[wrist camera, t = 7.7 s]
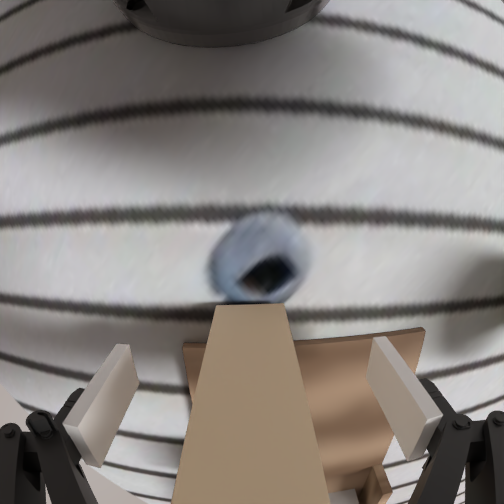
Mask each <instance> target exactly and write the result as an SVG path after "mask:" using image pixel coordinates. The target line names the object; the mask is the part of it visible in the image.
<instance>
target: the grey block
mask: <svg viewBox="0 0 504 504" xmlns="http://www.w3.org/2000/svg"><path fill="white" fill-rule="evenodd" d="M328 495H329V499H330V504H359V502H358V498H357V495H356V491H355V489H349V490H344V491H338V492H332V493H328Z"/></svg>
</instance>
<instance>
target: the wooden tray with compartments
mask: <svg viewBox="0 0 504 504" xmlns="http://www.w3.org/2000/svg"><path fill="white" fill-rule="evenodd" d="M425 332H426V331H425V330H424V329H423V328H422V327H420V328H413V329H407V330H399V331H392V332H384V333H376V334H367V335H358V336H349V337H338V338H326V339H313V340H298V341H293V343H294V347H295V351H296V355H297V359H298V363H299V368H300V372H301V376H302V380H303V384H304V389H305V393H306V397H307V401H308V406H309V410H310V414H311V418H312V423H313V427H314V432H315V436H316V440H317V445H318V449H319V454H320V458H321V463H322V467H323V472H324V476H325V481H326V485H327V490H328V493H332V492H338V491H344V490H349V489H355V491H356V495H357V498H358V502H359V504H386V502H387V500H388V499H389V497H390V496H391V494H392V493H393V491H392V489H391V486H390V483H389V481H388V478H387V476H386V473H385V471H384V468H383V466H382V462H383V460H384V457H385V455H386V453H387V450H388V448H389V446H390V443H391V441H392V438H393V436H394V432H393V430H392V428H391V426H390V424H389V422H388V420H387V418H386V416H385V414H384V412H383V410H382V408H381V406H380V404H379V402H378V400H377V399H376V397H375V395H374V393H373V391H372V389H371V387H370V385H369V383H368V381H367V379H366V374H367V369H368V364H369V358H370V353H371V347H372V341H373V338H374V337H382V336H386V337H387V338H388V340H389V341H390V342H391V344H392V345H393V346H394V348H395V349H396V350H397V352H398V353H399V354H400V356H401V357H402V358H403V360H404V361H405V362H406V364H407V365H408V366H409V368H410V369H411V370H412V372H413V373H414V375H415V371H416V368H417V364H418V360H419V357H420V353H421V349H422V345H423V341H424V336H425ZM206 345H207V343H184V344H183V347H182V349H183V356H184V362H185V367H186V373H187V379H188V384H189V389H190V395H191V400H192V405H193V400H194V396H195V392H196V387H197V383H198V379H199V375H200V370H201V366H202V362H203V358H204V353H205V349H206Z"/></svg>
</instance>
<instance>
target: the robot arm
mask: <svg viewBox="0 0 504 504" xmlns="http://www.w3.org/2000/svg"><path fill="white" fill-rule="evenodd" d="M501 1H502V2H503V3H504V0H501ZM113 2H114V4H115V5H116V6H117V7H118V9H119V10H120V11H121V12H122V13H123V14H124V16H125V17H126V18H127V19H128V20H129V21H130V22H131V23H132V24H133V25H134V26H135V27H137V28H138V29H140V30H141V31H143V32H144V33H146V34H148V35H150V36H153V37H155V38H158V39H160V40H163V41H167V42H170V43H175V44H180V45H186V46H195V47H226V46H237V45H244V44H249V43H255V42H259V41H263V40H267V39H270V38H273V37H276V36H279V35H282V34H284V33H287V32H289V31H291V30H294V29H296V28H298V27H299V26H301V25H303V24H305V23H306V22H308V21H309V20H311V19H312V18H313V17H315V16H316V15H317V14H318V13H319V12H320V11H321V10H322V9H323V8H324V7H325V6H326V4H327V3H328V2H329V0H113ZM366 379H367V381H368V383H369V385H370V387H371V389H372V391H373V393H374V395H375V397H376V399H377V400H378V402H379V404H380V406H381V408H382V410H383V412H384V414H385V416H386V418H387V420H388V422H389V424H390V426H391V428H392V430H393V432H394V435H395V437H396V439H397V441H398V443H399V445H400V447H401V449H402V451H403V453H404V455H405V457H406V459H407V461H410V460H414V459H417V458H420V457H422V456H423V454H424V452H425V451H426V449H427V450H428V452H429V454H430V455H429V457H428V458H427V460H426V462H425V464H424V465H423V467H422V468H423V471H422V474H421V476H420V478H419V481H418V483H417V485H416V487H415V490H414V492H413V494H412V496H411V498H410V500H409V502H408V504H454V501H455V498H456V495H457V492H458V489H459V485H460V482H461V478H462V475H463V471H464V467H465V504H504V412H502V411H493V412H491V413H490V414H489V415H488V417H487V419H486V420H480V421H472V420H471V419H470V418H469V417H468V416H466V415H463V414H456V412H455V411H454V410H453V408H452V407H451V406H450V404H449V403H448V402H447V400H446V399H445V398H444V396H442V394H441V392H440V391H439V390H438V388H437V387H436V386H435V384H434V383H432V382H431V381H429V380H428V379H426V378H424V379H420V380H418V379H417V377H416V376H415V375H414V373H413V372H412V370H411V369H410V368H409V366H408V365H407V364H406V362H405V361H404V360H403V358H402V357H401V356H400V354H399V353H398V352H397V350H396V349H395V348H394V346H393V345H392V344H391V342H390V341H389V340H388V338H387V337H386V336H382V337H374V338H373V341H372V347H371V353H370V358H369V364H368V369H367V374H366ZM138 386H139V380H138V377H137V373H136V370H135V366H134V362H133V358H132V354H131V350H130V346H129V344H116V345H115V347H114V348H113V350H112V351H111V352H110V354H109V355H108V357H107V358H106V360H105V361H104V362H103V364H102V365H101V367H100V368H99V370H98V371H97V372H96V374H95V375H94V377H93V378H92V380H91V381H90V383H89V384H88V386H87V387H86V388H85V389H83V388H78V389H77V390H76V391H74V392H73V393H72V394H71V395H70V397H69V398H68V399H67V401H66V402H65V404H64V406H63V407H62V408H61V409H60V411H59V412H58V414H57V415H56V417H55V418H54V420H53V418H52V416H51V415H50V413H49V412H47V411H43V410H39V411H35V412H33V413H31V414H30V415H29V416H28V417H27V419H26V425H27V427H28V428H29V430H30V432H22V430H21V429H20V427H19V426H18V425H17V424H15V423H8V424H5V425H4V426H2V427H1V428H0V504H46V492H45V484H46V487H47V490H48V494H49V496H50V500H51V502H52V504H98V502H97V500H96V498H95V496H94V494H93V492H92V490H91V488H90V486H89V484H88V481H87V479H86V477H85V474H84V472H83V470H82V467H81V465H80V464H79V461H80V459H81V457H82V458H83V460H84V461H85V463H86V464H87V465H91V466H95V467H98V468H101V466H102V464H103V462H104V459H105V457H106V455H107V453H108V450H109V448H110V446H111V444H112V441H113V439H114V437H115V435H116V433H117V430H118V428H119V426H120V424H121V422H122V420H123V417H124V415H125V413H126V411H127V409H128V407H129V405H130V402H131V400H132V398H133V396H134V394H135V392H136V390H137V388H138Z"/></svg>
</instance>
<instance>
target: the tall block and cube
mask: <svg viewBox="0 0 504 504" xmlns="http://www.w3.org/2000/svg"><path fill="white" fill-rule="evenodd" d="M171 504H330V499H329V495H328V490H327V485H326V481H325V476H324V472H323V467H322V463H321V458H320V454H319V449H318V445H317V440H316V436H315V432H314V427H313V423H312V418H311V414H310V410H309V406H308V401H307V397H306V393H305V389H304V384H303V380H302V376H301V372H300V368H299V363H298V359H297V355H296V351H295V347H294V343H293V339H292V335H291V331H290V326H289V322H288V318H287V314H286V310H285V306H284V303H278V304H250V305H216V308H215V312H214V316H213V321H212V325H211V329H210V333H209V337H208V341H207V345H206V349H205V353H204V358H203V362H202V366H201V370H200V375H199V379H198V383H197V387H196V392H195V396H194V400H193V405H192V409H191V414H190V418H189V422H188V427H187V431H186V436H185V440H184V445H183V449H182V454H181V459H180V463H179V468H178V473H177V477H176V482H175V487H174V492H173V497H172V501H171Z"/></svg>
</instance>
